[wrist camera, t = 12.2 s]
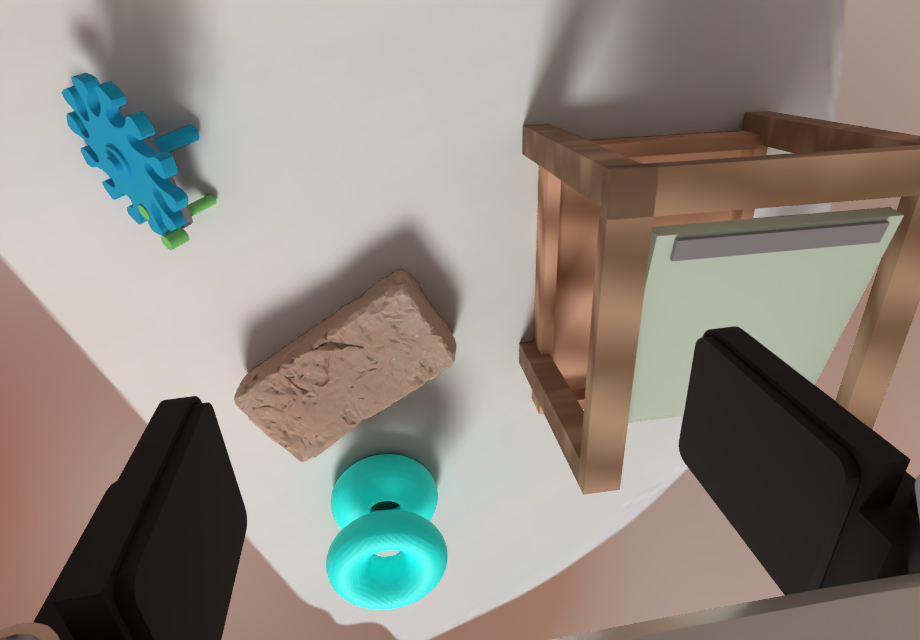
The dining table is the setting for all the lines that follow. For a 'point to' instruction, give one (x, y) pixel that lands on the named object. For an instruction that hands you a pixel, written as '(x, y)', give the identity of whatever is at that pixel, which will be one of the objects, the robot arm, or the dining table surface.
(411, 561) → the donuts
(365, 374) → the brick
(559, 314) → the frame
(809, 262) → the trapdoor
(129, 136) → the gear
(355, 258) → the dining table surface
